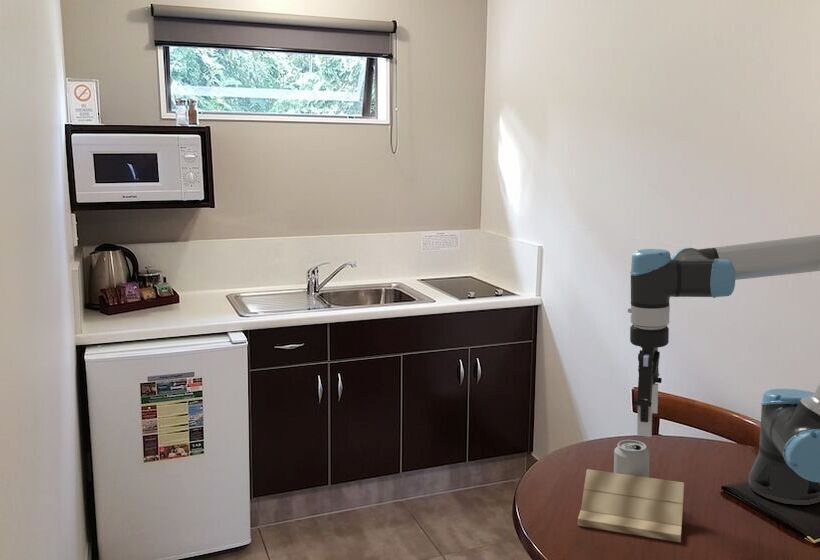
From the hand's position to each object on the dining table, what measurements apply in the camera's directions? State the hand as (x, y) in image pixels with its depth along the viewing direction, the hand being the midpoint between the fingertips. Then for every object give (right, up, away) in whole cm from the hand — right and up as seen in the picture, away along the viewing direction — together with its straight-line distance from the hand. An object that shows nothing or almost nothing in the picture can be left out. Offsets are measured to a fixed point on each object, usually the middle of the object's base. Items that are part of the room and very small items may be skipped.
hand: (647, 423), depth 153 cm
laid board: (-5, -21, -4) cm, 22 cm away
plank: (-3, -16, +1) cm, 17 cm away
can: (-1, -18, +10) cm, 21 cm away
